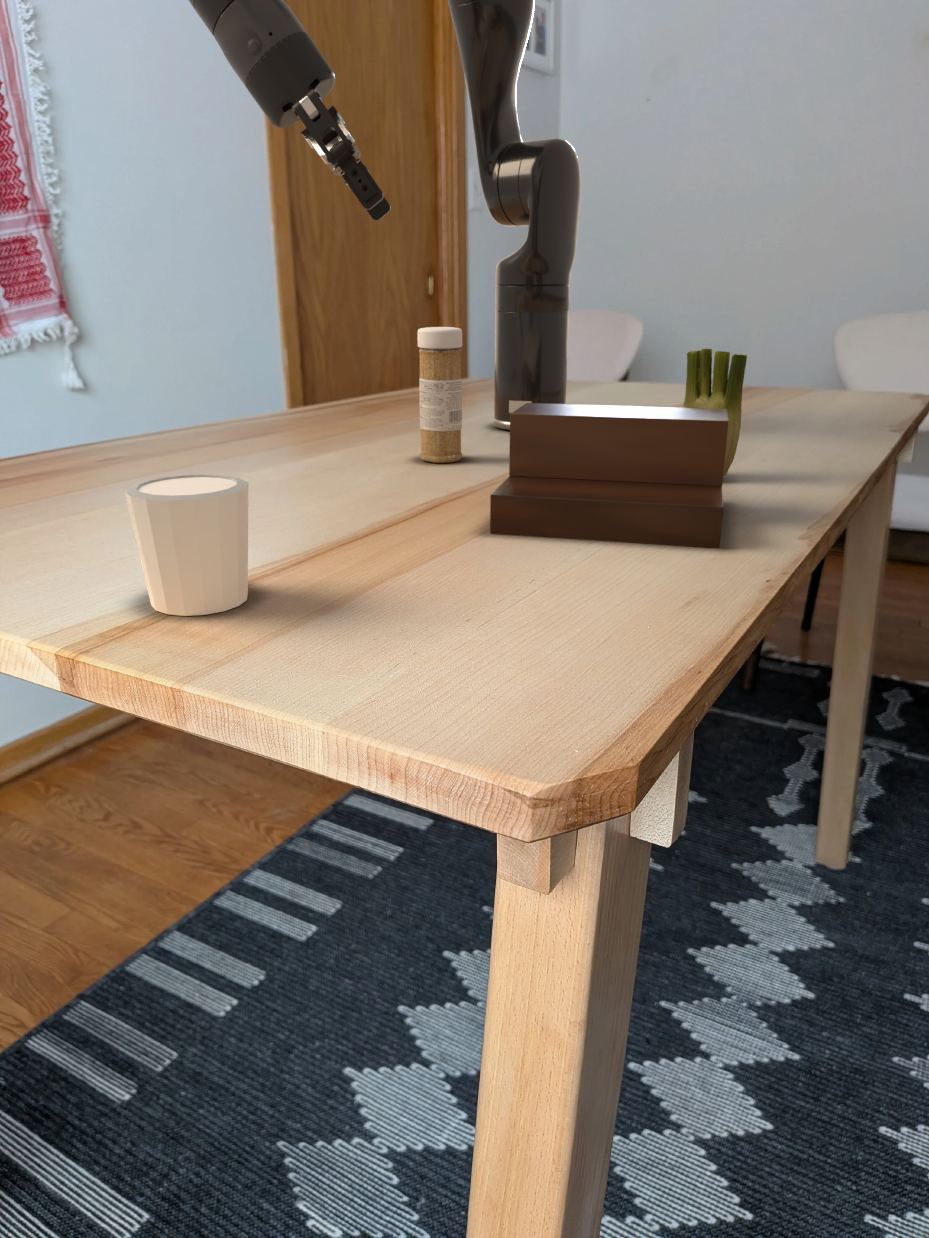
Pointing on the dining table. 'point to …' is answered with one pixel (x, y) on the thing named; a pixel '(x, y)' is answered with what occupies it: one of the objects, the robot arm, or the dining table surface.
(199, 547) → the cream cup
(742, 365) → the fennel bulb
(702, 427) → the step rack
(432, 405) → the spice jar
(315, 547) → the dining table surface
